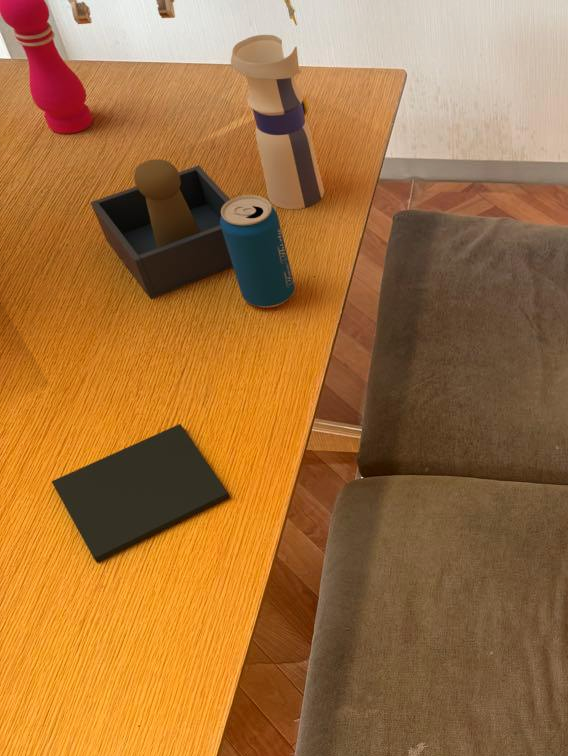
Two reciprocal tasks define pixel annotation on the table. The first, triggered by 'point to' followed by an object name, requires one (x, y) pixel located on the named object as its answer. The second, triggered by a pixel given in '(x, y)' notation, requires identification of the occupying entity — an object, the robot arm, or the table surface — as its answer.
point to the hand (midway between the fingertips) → (125, 19)
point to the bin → (176, 260)
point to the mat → (139, 491)
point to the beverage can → (257, 250)
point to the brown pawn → (165, 202)
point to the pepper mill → (47, 67)
